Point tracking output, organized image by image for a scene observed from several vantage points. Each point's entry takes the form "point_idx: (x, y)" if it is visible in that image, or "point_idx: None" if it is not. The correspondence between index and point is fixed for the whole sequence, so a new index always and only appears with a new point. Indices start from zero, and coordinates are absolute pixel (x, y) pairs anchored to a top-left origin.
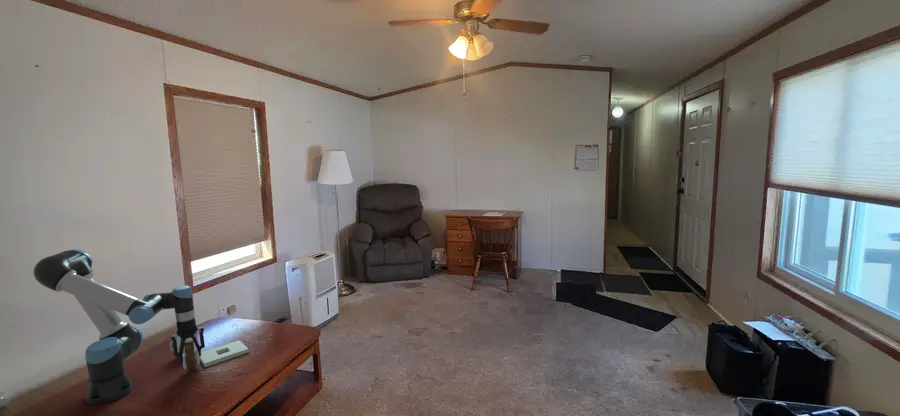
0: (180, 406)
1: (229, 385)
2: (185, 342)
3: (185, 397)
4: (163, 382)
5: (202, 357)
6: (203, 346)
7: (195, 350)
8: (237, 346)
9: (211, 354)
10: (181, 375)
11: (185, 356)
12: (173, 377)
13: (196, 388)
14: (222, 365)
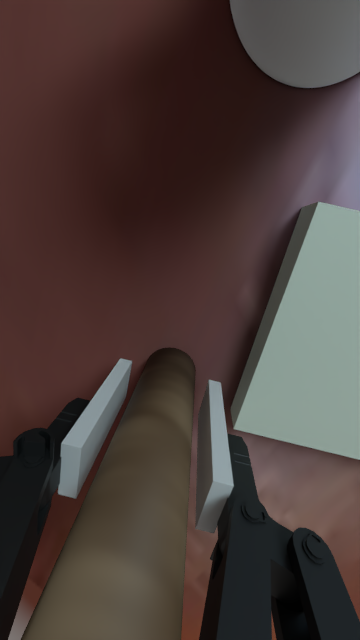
0: (30, 570)
1: (194, 603)
2: None
3: (57, 546)
4: (14, 367)
5: (285, 332)
6: (285, 603)
7: (207, 496)
8: None
9: (355, 348)
10: (104, 379)
11: (258, 66)
12: (66, 361)
13: None
14: (292, 471)
